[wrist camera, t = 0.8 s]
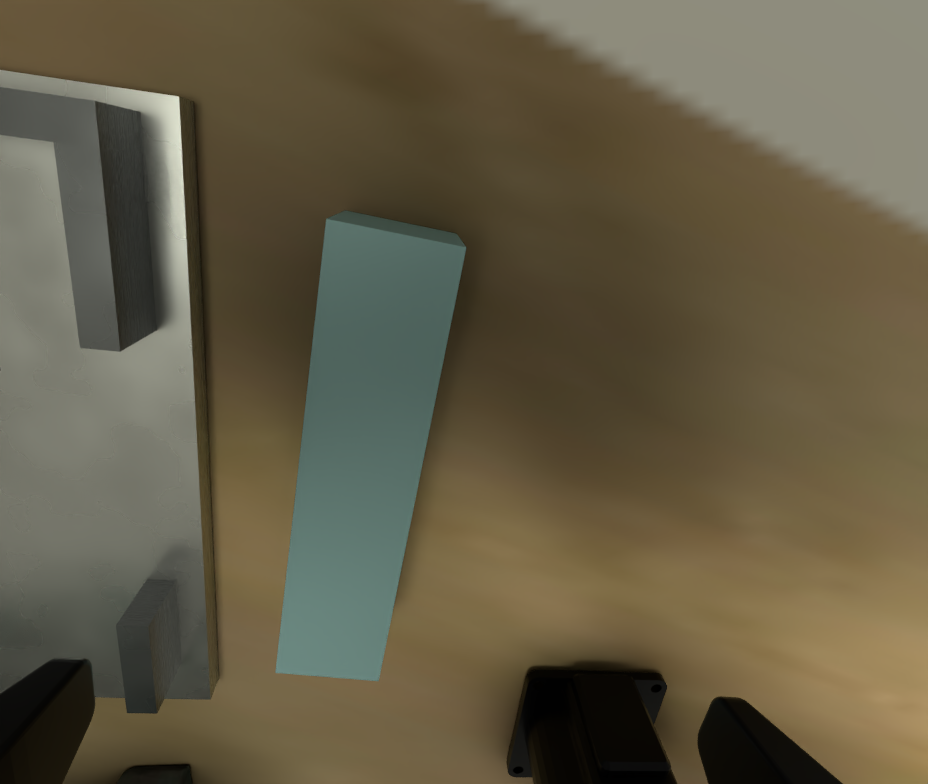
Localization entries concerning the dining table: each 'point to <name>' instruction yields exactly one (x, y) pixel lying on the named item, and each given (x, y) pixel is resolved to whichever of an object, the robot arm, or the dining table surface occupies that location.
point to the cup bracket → (103, 392)
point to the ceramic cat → (157, 775)
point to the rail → (364, 437)
